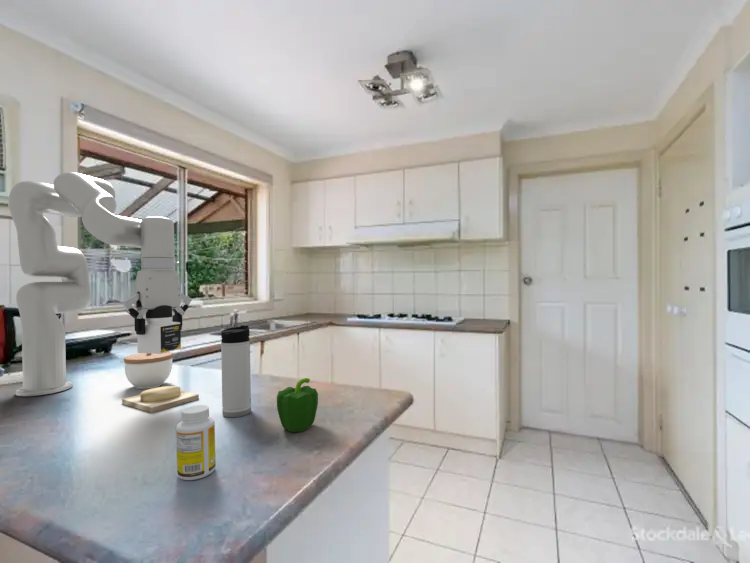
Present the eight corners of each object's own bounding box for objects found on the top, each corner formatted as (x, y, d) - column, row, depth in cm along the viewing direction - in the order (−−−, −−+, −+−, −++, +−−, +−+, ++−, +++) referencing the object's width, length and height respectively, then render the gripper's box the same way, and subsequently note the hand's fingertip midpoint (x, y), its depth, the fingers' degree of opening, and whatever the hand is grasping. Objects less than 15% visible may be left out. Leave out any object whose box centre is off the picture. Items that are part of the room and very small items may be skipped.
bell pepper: (275, 438, 74) (275, 386, 74) (278, 422, 82) (277, 376, 82) (319, 433, 76) (318, 383, 76) (317, 419, 84) (316, 373, 84)
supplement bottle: (205, 461, 65) (204, 401, 65) (222, 471, 61) (220, 407, 61) (170, 474, 61) (169, 409, 61) (186, 486, 57) (185, 417, 57)
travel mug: (257, 410, 91) (256, 325, 91) (237, 419, 85) (235, 329, 85) (237, 406, 94) (236, 324, 94) (216, 415, 88) (214, 328, 88)
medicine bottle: (161, 354, 95) (160, 305, 95) (136, 353, 96) (136, 305, 96) (181, 348, 102) (180, 303, 102) (158, 348, 103) (157, 303, 103)
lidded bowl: (145, 379, 122) (145, 345, 122) (182, 380, 120) (181, 345, 120) (113, 391, 110) (112, 352, 110) (153, 392, 108) (152, 352, 108)
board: (122, 403, 98) (122, 393, 98) (168, 391, 108) (168, 382, 108) (151, 412, 90) (151, 401, 90) (198, 399, 100) (198, 388, 100)
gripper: (182, 266, 108) (183, 327, 108) (114, 265, 94) (115, 335, 94) (198, 265, 104) (199, 329, 104) (129, 263, 90) (131, 337, 90)
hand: (159, 332), depth 99 cm, fingers closed on medicine bottle, 8 cm apart
